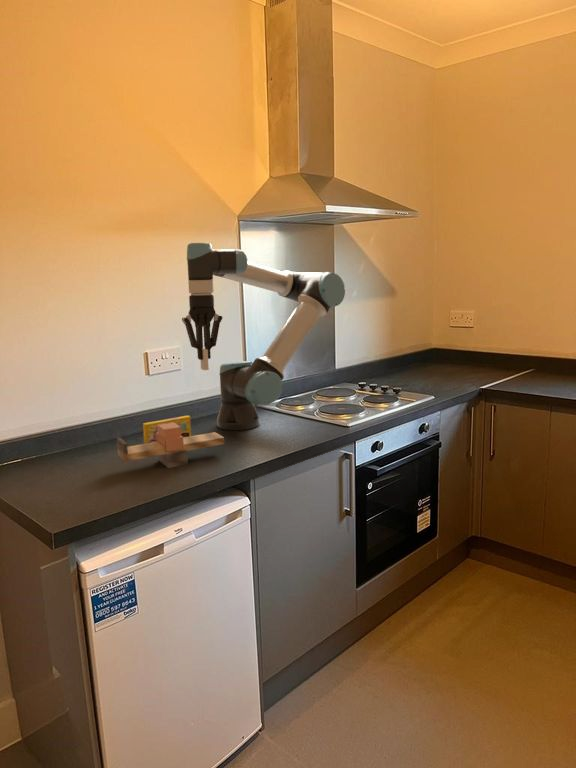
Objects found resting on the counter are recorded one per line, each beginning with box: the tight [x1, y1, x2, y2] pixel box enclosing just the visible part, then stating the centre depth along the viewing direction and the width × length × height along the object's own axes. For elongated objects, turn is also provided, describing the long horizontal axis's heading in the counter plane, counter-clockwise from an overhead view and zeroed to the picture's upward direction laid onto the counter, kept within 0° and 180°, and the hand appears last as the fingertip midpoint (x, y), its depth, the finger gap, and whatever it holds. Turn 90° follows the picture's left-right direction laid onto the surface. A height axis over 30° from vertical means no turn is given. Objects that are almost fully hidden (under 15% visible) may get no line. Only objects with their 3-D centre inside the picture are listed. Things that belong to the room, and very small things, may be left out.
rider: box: [156, 422, 184, 452], centre depth 173 cm, size 5×9×6 cm, turn 30°
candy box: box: [142, 414, 192, 444], centre depth 192 cm, size 16×2×8 cm, turn 128°
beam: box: [116, 431, 226, 469], centre depth 174 cm, size 30×8×9 cm, turn 120°
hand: (204, 369), depth 188 cm, fingers closed
